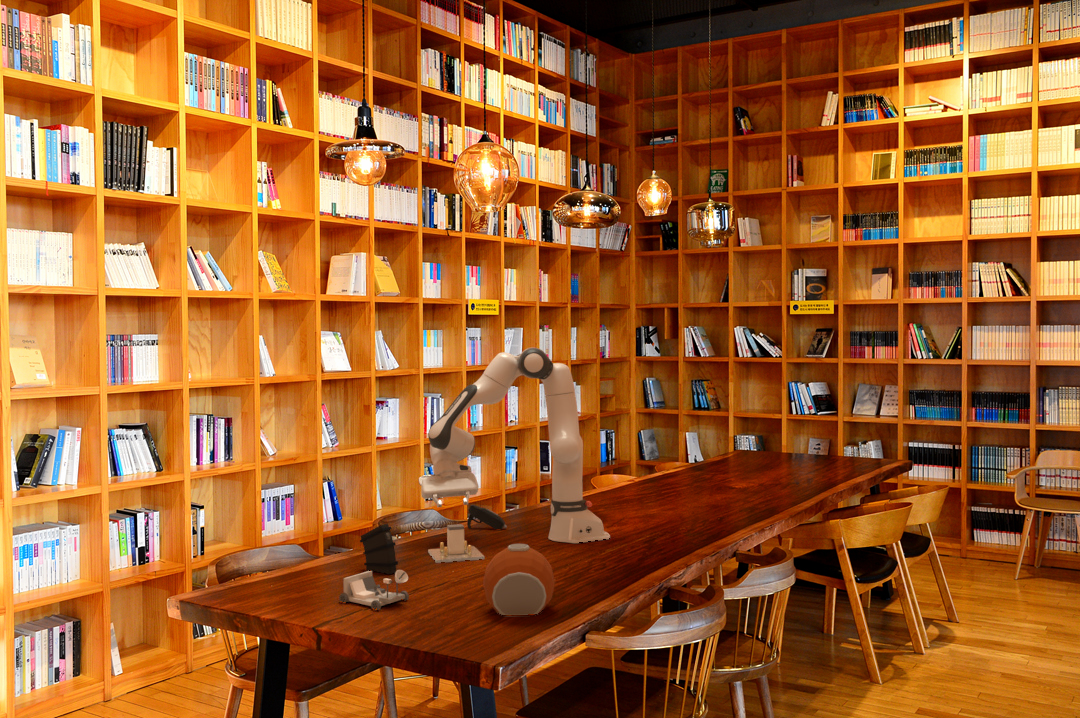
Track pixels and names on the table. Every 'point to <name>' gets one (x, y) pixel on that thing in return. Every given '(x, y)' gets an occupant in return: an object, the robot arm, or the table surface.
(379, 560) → the black ribbed panel
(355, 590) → the toy lunar rover
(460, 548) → the block
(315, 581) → the table surface
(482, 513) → the gun
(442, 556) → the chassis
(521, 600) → the alarm clock
